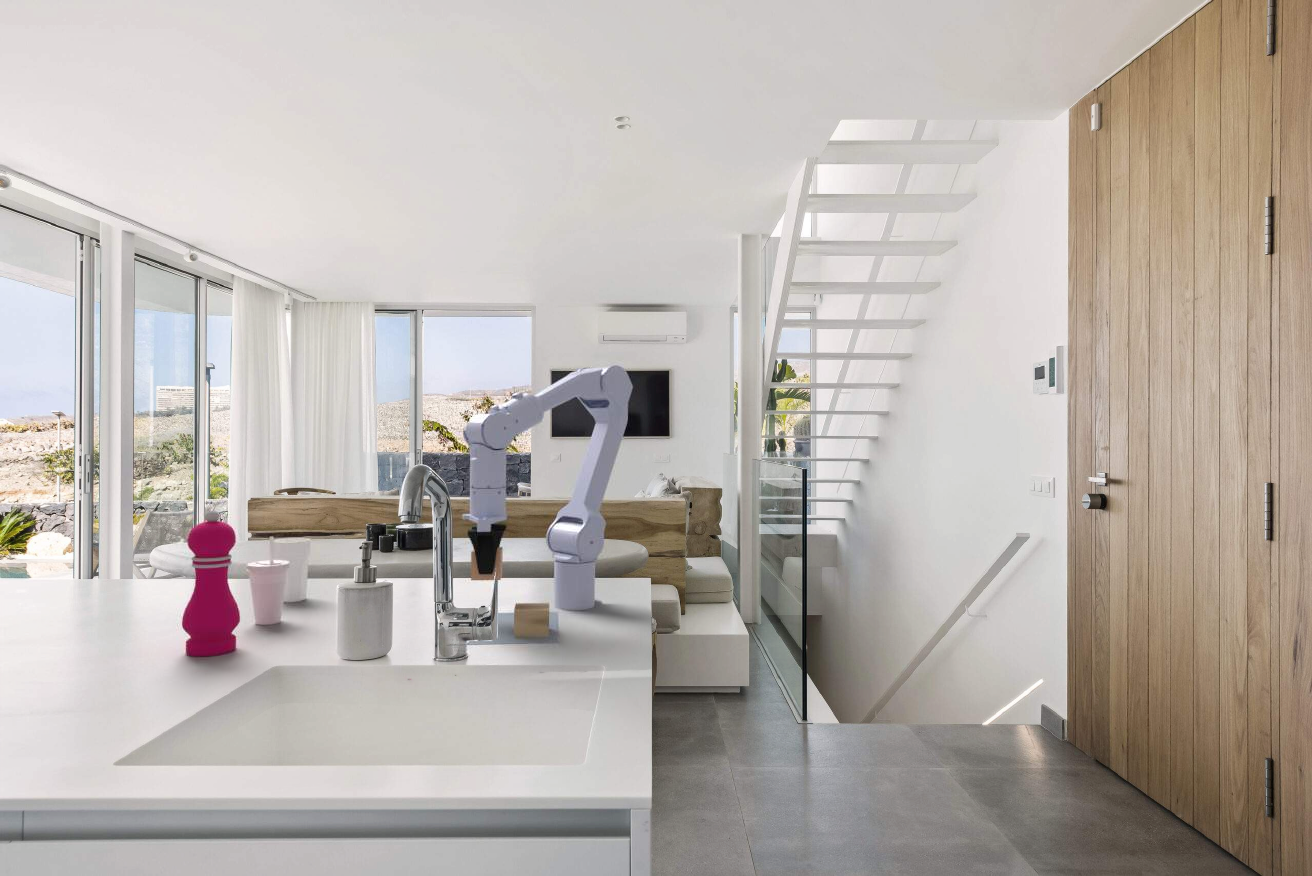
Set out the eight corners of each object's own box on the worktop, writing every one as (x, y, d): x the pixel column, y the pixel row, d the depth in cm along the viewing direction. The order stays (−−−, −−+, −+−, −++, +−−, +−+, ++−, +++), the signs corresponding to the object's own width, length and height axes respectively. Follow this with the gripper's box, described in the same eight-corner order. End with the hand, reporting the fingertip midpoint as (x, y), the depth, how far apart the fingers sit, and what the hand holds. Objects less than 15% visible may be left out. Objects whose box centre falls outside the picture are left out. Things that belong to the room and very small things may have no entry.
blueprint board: (461, 618, 135) (461, 613, 135) (557, 616, 137) (557, 611, 137) (446, 650, 115) (446, 645, 115) (558, 647, 117) (558, 642, 117)
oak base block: (515, 629, 125) (515, 603, 125) (549, 628, 126) (549, 602, 126) (513, 637, 120) (514, 610, 120) (549, 636, 120) (549, 610, 120)
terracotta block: (473, 575, 132) (474, 547, 132) (502, 574, 133) (502, 547, 133) (470, 580, 127) (471, 551, 127) (500, 580, 128) (500, 551, 128)
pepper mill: (174, 659, 110) (175, 513, 109) (190, 645, 116) (191, 508, 116) (233, 656, 111) (234, 512, 111) (244, 642, 118) (245, 507, 118)
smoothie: (272, 627, 127) (272, 539, 127) (236, 625, 129) (237, 538, 128) (297, 618, 134) (298, 534, 133) (264, 616, 135) (264, 533, 135)
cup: (273, 596, 151) (274, 538, 151) (311, 595, 153) (312, 537, 153) (268, 604, 145) (268, 543, 144) (307, 602, 146) (308, 542, 146)
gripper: (467, 484, 137) (467, 563, 137) (457, 490, 122) (456, 579, 122) (509, 484, 137) (509, 563, 138) (504, 490, 123) (503, 579, 123)
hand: (487, 571), depth 130 cm, fingers closed on terracotta block, 5 cm apart
